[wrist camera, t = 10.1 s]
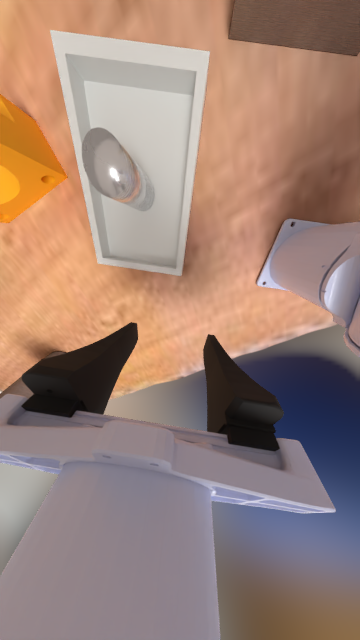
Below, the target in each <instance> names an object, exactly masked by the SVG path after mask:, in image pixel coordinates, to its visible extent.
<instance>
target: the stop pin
mask: <svg viewBox="0 0 360 640" xmlns="http://www.w3.org/2000/svg"><path fill="white" fill-rule="evenodd" d="M82 160H83V165H84V169H85V172H86V174H87V176H88V178H89V180H90V182H91V183H92V185H93V186H94V187H95V189H96V190H97V191H98V192H100V193H101V194H103V195H104V196H107V197H109V198H111V199H114V200H116V201H118V202H121V203H123V204H125V205H128V206H130V207H132V208H135V209H137V210H139V211H147V210H149V209H150V208H151V206H152V205H153V202H154V198H155V192H154V187H153V184H152V182H151V180H150V179H149V178H148V176H147V175H146V174H145V173H144V172H143V170H142V169H141V168H140V167H139V165H138V164H137V163H136V162H135V161H134V159H133V158H132V157H131V156H130V155H129V153H128V152H127V151H126V150H125V149H124V147H123V146H122V145H121V144H120V143H119V141H118V140H117V139H116V138H115V137H114V135H113V134H112V133H110V132H109V131H108V130H106V129H104V128H99V127H96V128H93V129H91V130H89V131H88V132H87V134H86V135H85V137H84V140H83V144H82Z"/></svg>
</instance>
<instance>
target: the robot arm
mask: <svg viewBox="0 0 360 640" xmlns="http://www.w3.org/2000/svg"><path fill="white" fill-rule="evenodd" d="M292 222H293V226H292V227H291V226H290V225H291V223H292ZM263 282H265V284H263ZM257 285H258V286H262V287H269V288H275V289H282V290H288V291H291V292H292V293H294V294H296V295H298V296H300V297H302V298H304V299H306V300H308V301H310V302H312V303H314V304H316V305H318V306H320V307H321V308H323V309H325V310H327V311H329V312H330V313H332V315H333V321H334V322H336V323H338V324H339V325H341V326H343V327H345V328H347V329H346V331H345V333H344V341H345V343H346V345H347V347H348V348H349V349H350V350H351V351H352V352H353V353H355V354H356V355H357V356H358V357H360V221H359V222H350V223H342V224H334V225H332V224H325V223H318V222H311V221H304V220H297V219H287V220H285V221H284V223H283V224H282V227H281V229H280V231H279V233H278V236H277V238H276V240H275V242H274V244H273V247H272V249H271V251H270V253H269V256H268V258H267V260H266V262H265V264H264V267H263V269H262V271H261V273H260V276H259V278H258V280H257ZM137 340H138V330H137V323H132V322H131V323H129V324H128V325H126V326H124V327H123V328H121V329H119V330H118V331H116V332H114V333H113V334H111V335H109V336H107V337H105V338H103V339H101V340H99V341H97V342H95V343H93V344H90V345H88V346H85V347H83V348H80V349H77V350H74V351H71V352H68V353H65V354H61V355H57V356H53V357H49V358H45V359H42V360H41V361H39V362H38V363H37V364H35V365H34V366H33V367H32V368H30V369H29V370H28V371H26V372H25V373H24V374H23V375H22V381H23V383H24V384H25V385H26V386H27V387H28V388H29V389H30V390H31V391H32V392H33V393H34V394H33V395H32V396H31V397H30V398H27V397H25V396H20V395H14V394H6V395H4V396H3V397H2V398H1V399H0V463H5V464H10V465H15V466H20V467H25V468H30V469H35V470H40V471H44V472H50V473H54V474H59V475H58V477H57V479H56V480H55V482H54V484H53V486H52V487H51V489H50V491H49V492H48V494H47V496H46V498H45V499H44V501H43V503H42V505H41V506H40V508H39V510H38V512H37V513H36V515H35V517H34V518H33V520H32V522H31V524H30V526H29V527H28V529H27V531H26V532H25V534H24V536H23V538H22V539H21V541H20V543H19V544H18V546H17V548H16V550H15V551H14V553H13V555H12V557H11V559H10V560H9V562H8V564H7V565H6V567H5V569H4V571H3V572H2V574H1V576H0V640H220V627H219V626H220V625H219V611H218V596H217V581H216V566H215V552H214V538H213V522H212V507H211V501H218V502H226V503H234V504H242V505H250V506H258V507H265V508H272V509H279V510H285V511H292V512H298V513H323V512H335V510H336V509H335V508H334V506H333V504H332V502H331V500H330V498H329V496H328V494H327V492H326V491H325V489H324V487H323V485H322V483H321V481H320V479H319V477H318V475H317V474H316V472H315V470H314V468H313V466H312V464H311V462H310V460H309V458H308V457H307V455H306V453H305V451H304V449H303V447H302V445H301V443H300V442H299V441H296V440H290V439H284V438H277V439H276V437H275V435H274V433H275V428H274V426H273V424H275V423H276V422H277V421H278V420H280V419H281V418H282V417H283V414H284V412H283V410H282V408H281V406H280V404H279V402H278V400H277V399H276V397H275V396H274V395H272V394H271V393H270V392H268V391H267V390H266V389H264V388H263V387H261V386H260V385H259V384H257V383H256V382H255V381H254V380H252V379H251V378H250V377H249V376H248V375H247V374H246V373H245V372H243V371H242V370H241V369H240V368H239V367H238V366H237V365H236V364H235V362H234V361H233V360H232V359H231V358H230V357H229V355H228V354H227V353H226V352H225V350H224V349H223V348H222V346H221V345H220V343H219V342H218V340H217V339H216V337H215V336H214V335H209V334H208V336H207V339H206V343H205V346H204V349H203V356H204V366H205V373H206V381H207V405H208V409H207V415H208V416H207V432H206V431H200V430H193V429H188V428H182V427H176V426H169V425H163V424H157V423H151V422H145V421H138V420H133V419H126V418H120V417H114V416H108V415H103V414H104V411H105V408H106V406H107V403H108V400H109V398H110V395H111V393H112V390H113V388H114V386H115V383H116V381H117V379H118V377H119V374H120V372H121V370H122V368H123V366H124V365H125V363H126V361H127V360H128V358H129V356H130V354H131V353H132V351H133V349H134V347H135V345H136V343H137Z"/></svg>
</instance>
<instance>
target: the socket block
mask: <svg viewBox="0 0 360 640" xmlns="http://www.w3.org/2000/svg"><path fill="white" fill-rule="evenodd" d="M229 39H235V40H243V41H250V42H258V43H265V44H273V45H280V46H288V47H295V48H303V49H310V50H318V51H325V52H333V53H340V54H348V55H355V56H357V55H358V53H359V52H360V0H235V3H234V9H233V15H232V21H231V27H230V33H229Z"/></svg>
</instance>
